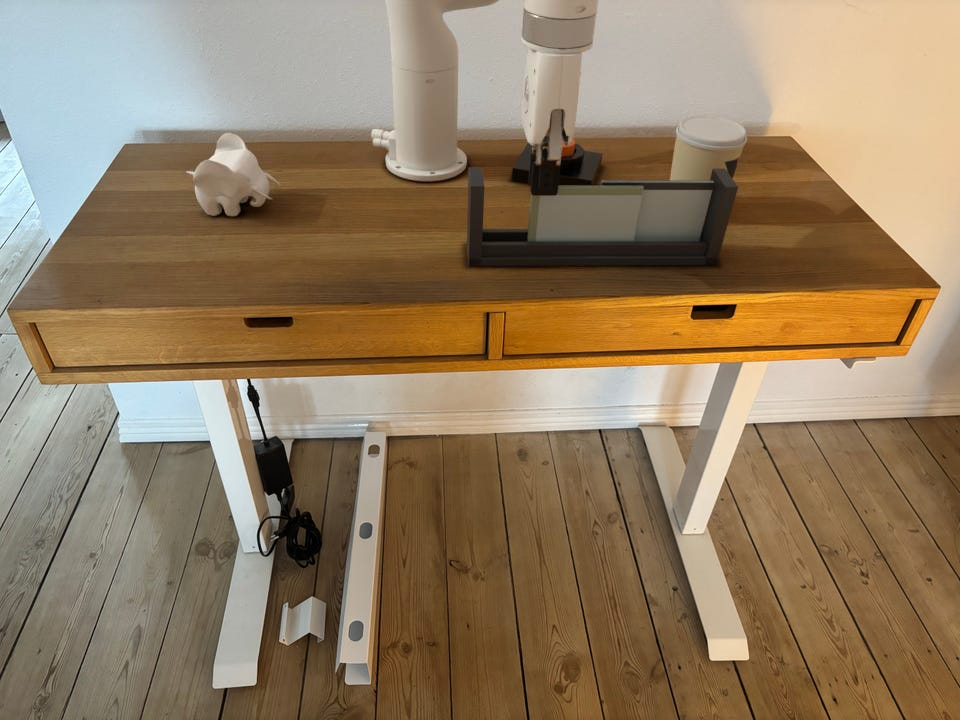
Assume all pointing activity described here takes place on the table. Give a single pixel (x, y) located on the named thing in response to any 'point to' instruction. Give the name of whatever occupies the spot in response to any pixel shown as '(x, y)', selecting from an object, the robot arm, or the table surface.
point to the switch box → (563, 167)
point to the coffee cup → (706, 147)
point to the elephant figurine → (230, 178)
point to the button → (568, 149)
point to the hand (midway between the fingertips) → (542, 189)
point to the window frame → (658, 241)
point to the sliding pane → (585, 214)
